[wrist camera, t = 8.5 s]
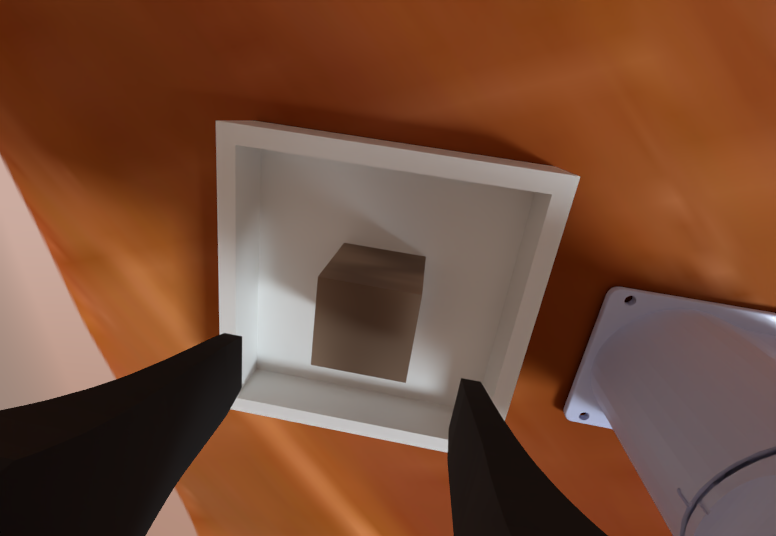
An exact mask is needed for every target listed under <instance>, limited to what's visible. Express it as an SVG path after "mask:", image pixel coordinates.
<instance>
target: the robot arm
mask: <svg viewBox="0 0 776 536" xmlns="http://www.w3.org/2000/svg"><path fill="white" fill-rule="evenodd" d="M628 296H633V297H632V299H631V301H629V302H625V299H626V297H628ZM241 388H242V336H238V335H233V334H227V333H223V334H220V335H218V336H216V337H213V338H211V339H209V340H207V341H205V342H202V343H200V344H198V345H196V346H194V347H192V348H190V349H188V350H185V351H183V352H181V353H179V354H177V355H175V356H172V357H170V358H168V359H166V360H163V361H161V362H159V363H156V364H154V365H152V366H149V367H147V368H144V369H142V370H140V371H137V372H135V373H132V374H130V375H127V376H125V377H122V378H119V379H116V380H113V381H110V382H108V383H105V384H102V385H99V386H96V387H92V388H89V389H86V390H82V391H79V392H75V393H71V394H68V395H64V396H61V397H57V398H53V399H50V400H46V401H42V402H37V403H33V404H29V405H24V406H19V407H14V408H10V409H5V410H0V536H145V535H146V534H147V532H148V530H149V528H150V527H151V525H152V523H153V521H154V520H155V518H156V516H157V515H158V513H159V511H160V510H161V508H162V506H163V505H164V503H165V501H166V500H167V498H168V497H169V495H170V493H171V492H172V490H173V488H174V487H175V485H176V484H177V482H178V481H179V479H180V478H181V477H182V475H183V474H184V472H185V471H186V470H187V468H188V467H189V466H190V464H191V463H192V461H193V460H194V459H195V457H196V456H197V455H198V453H199V452H200V451H201V449H202V448H203V447H204V445H205V444H206V443H207V441H208V440H209V439H210V437H211V436H212V435H213V433H214V432H215V430H216V429H217V428H218V426H219V425H220V424H221V422H222V421H223V419H224V418H225V417H226V415H227V414H228V412H229V410H230V408H231V407H232V405H233V403H234V401H235V399H236V398H237V396H238V394H239V392H240V390H241ZM563 412H564V414H565V416H566V418H567V419H568V420H570V421H574V422H579V423H584V424H589V425H595V426H600V427H605V428H610V429H613V430H614V432H615V434H616V436H617V437H618V439H619V441H620V443H621V444H622V446H623V448H624V450H625V452H626V453H627V455H628V457H629V459H630V460H631V462H632V464H633V466H634V467H635V469H636V471H637V473H638V475H639V476H640V478H641V480H642V482H643V483H644V485H645V487H646V489H647V490H648V492H649V494H650V496H651V498H652V499H653V501H654V503H655V505H656V506H657V508H658V510H659V512H660V513H661V515H662V517H663V519H664V521H665V522H666V524H667V526H668V528H669V529H670V531H671V533H672V535H673V536H776V313H773V312H767V311H761V310H756V309H750V308H744V307H738V306H732V305H726V304H720V303H714V302H708V301H702V300H697V299H691V298H685V297H679V296H673V295H667V294H661V293H655V292H649V291H643V290H638V289H632V288H626V287H613V288H611V289H610V290H609V291H608V292H607V294H606V296H605V299H604V301H603V304H602V307H601V309H600V312H599V315H598V318H597V320H596V323H595V326H594V328H593V331H592V334H591V336H590V339H589V342H588V344H587V347H586V350H585V352H584V355H583V358H582V360H581V363H580V366H579V369H578V371H577V374H576V377H575V379H574V382H573V385H572V387H571V390H570V393H569V395H568V398H567V401H566V403H565V406H564V410H563ZM583 412H586V414H584V415H580V414H581V413H583ZM448 471H449V484H450V495H451V507H452V519H453V530H454V536H607V535H606V534H605V533H604V532H603V531H602V530H600V529H599V528H598V527H597V526H596V525H595V524H594V523H593V522H591V521H590V520H589V519H588V518H587V517H586V516H585V515H584V514H583V513H582V512H581V511H580V510H579V509H578V508H577V507H575V506H574V505H573V504H572V503H571V502H570V501H569V500H568V499H567V498H566V497H565V496H564V495H563V494H562V493H561V492H560V491H559V489H558V488H557V487H556V486H555V485H554V484H553V483H552V482H551V481H550V480H549V479H548V477H547V476H546V475H545V474H544V473H543V472H542V471H541V469H540V468H539V467H538V466H537V465H536V464H535V462H534V461H533V460H532V459H531V458H530V456H529V455H528V454H527V452H526V451H525V450H524V448H523V447H522V446H521V444H520V443H519V442H518V440H517V439H516V437H515V436H514V435H513V433H512V432H511V430H510V429H509V427H508V425H507V424H506V422H505V421H504V419H503V418H502V416H501V415H500V413H499V412H498V410H497V408H496V407H495V405H494V403H493V402H492V400H491V398H490V396H489V395H488V393H487V391H486V390H485V388H484V386H483V385H482V383H481V382H480V381H474V380H469V379H464V378H461V381H460V385H459V389H458V393H457V397H456V401H455V405H454V409H453V413H452V417H451V421H450V425H449V432H448Z"/></svg>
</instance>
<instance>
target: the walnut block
mask: <svg viewBox="0 0 776 536" xmlns="http://www.w3.org/2000/svg"><path fill="white" fill-rule="evenodd" d="M425 260H426V257H425V256H419V255H414V254H408V253H402V252H396V251H390V250H384V249H378V248H372V247H367V246H361V245H355V244H349V243H343V245H342V246H341V247H340V249H339V250H338V251H337V253H336V254H335V255H334V256H333V258H332V259H331V260H330V262H329V263H328V264H327V265H326V267H325V268H324V269H323V271H322V272H321V273H320V275H319V276H318V281H317V293H316V306H315V318H314V330H313V343H312V355H311V365H314V366H319V367H325V368H330V369H335V370H340V371H345V372H351V373H356V374H361V375H366V376H372V377H377V378H382V379H387V380H393V381H398V382H403V383H406V379H407V374H408V369H409V363H410V358H411V353H412V347H413V342H414V337H415V331H416V326H417V321H418V315H419V310H420V305H421V299H422V293H423V282H424V271H425Z"/></svg>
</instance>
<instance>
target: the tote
mask: <svg viewBox="0 0 776 536" xmlns="http://www.w3.org/2000/svg"><path fill="white" fill-rule="evenodd" d="M216 168H217V222H218V277H219V331H220V334H223V333H227V334H233V335H238V336H242V388H241V390H240V392H239V394H238V396H237V398H236V399H235V401H234V403H233V405H232V407H231V408H230V409H233V410H238V411H243V412H248V413H253V414H258V415H263V416H268V417H273V418H278V419H283V420H288V421H293V422H298V423H303V424H308V425H313V426H318V427H323V428H328V429H333V430H338V431H343V432H348V433H353V434H358V435H363V436H368V437H373V438H378V439H383V440H388V441H393V442H398V443H403V444H408V445H413V446H418V447H423V448H428V449H433V450H438V451H443V452H448V432H449V425H450V421H451V417H452V413H453V409H454V405H455V401H456V397H457V393H458V389H459V385H460V381H461V378H464V379H469V380H474V381H480V382H481V383H482V385H483V386H484V388H485V390H486V391H487V393H488V395H489V396H490V398H491V400H492V402H493V403H494V405H495V407H496V408H497V410H498V412H499V413H500V415H501V416H502V418H503V419H504V421H505V418H506V415H507V412H508V409H509V405H510V402H511V399H512V396H513V393H514V389H515V386H516V383H517V380H518V376H519V373H520V370H521V367H522V363H523V360H524V357H525V354H526V351H527V347H528V344H529V341H530V338H531V334H532V331H533V328H534V325H535V321H536V318H537V315H538V312H539V309H540V305H541V302H542V299H543V296H544V292H545V289H546V286H547V283H548V279H549V276H550V273H551V270H552V267H553V263H554V260H555V257H556V254H557V250H558V247H559V244H560V241H561V237H562V234H563V231H564V228H565V225H566V221H567V218H568V215H569V212H570V208H571V205H572V202H573V199H574V195H575V192H576V189H577V186H578V183H579V179H580V176H578V175H575V174H573V173H570V172H568V171H565V170H563V169H560V168H558V167H555V166H549V165H543V164H536V163H530V162H523V161H517V160H510V159H504V158H497V157H490V156H484V155H477V154H471V153H464V152H458V151H451V150H445V149H438V148H432V147H425V146H418V145H412V144H405V143H399V142H392V141H386V140H379V139H373V138H366V137H359V136H353V135H346V134H340V133H333V132H327V131H320V130H314V129H307V128H301V127H294V126H287V125H281V124H274V123H268V122H261V121H255V120H216ZM343 243H349V244H355V245H361V246H367V247H372V248H378V249H384V250H390V251H396V252H402V253H408V254H414V255H419V256H425V257H426V260H425V271H424V282H423V293H422V299H421V305H420V310H419V315H418V321H417V326H416V331H415V337H414V342H413V347H412V353H411V358H410V363H409V369H408V374H407V379H406V383H403V382H398V381H393V380H387V379H382V378H377V377H372V376H366V375H361V374H356V373H351V372H345V371H340V370H335V369H330V368H325V367H319V366H314V365H311V355H312V343H313V330H314V318H315V306H316V293H317V281H318V276H319V275H320V273H321V272H322V271H323V269H324V268H325V267H326V265H327V264H328V263H329V262H330V260H331V259H332V258H333V256H334V255H335V254H336V253H337V251H338V250H339V249H340V247H341V246H342V245H343Z"/></svg>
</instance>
